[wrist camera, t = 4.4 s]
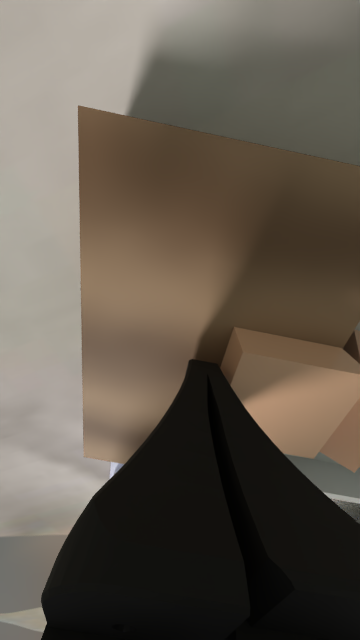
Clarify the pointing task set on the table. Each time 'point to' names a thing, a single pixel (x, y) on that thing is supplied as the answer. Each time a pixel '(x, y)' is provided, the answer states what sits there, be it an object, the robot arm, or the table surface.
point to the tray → (330, 474)
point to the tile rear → (347, 423)
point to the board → (199, 261)
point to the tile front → (292, 387)
